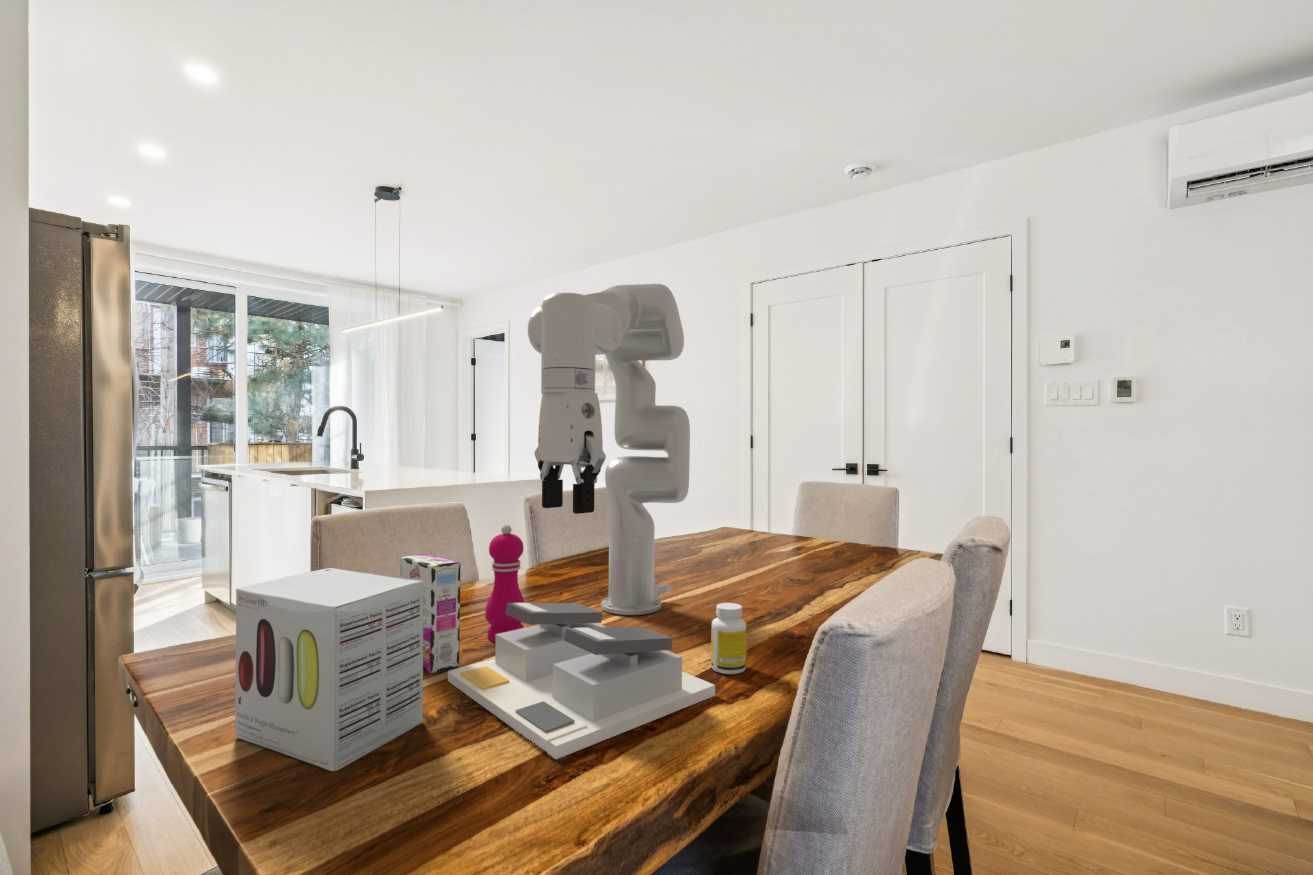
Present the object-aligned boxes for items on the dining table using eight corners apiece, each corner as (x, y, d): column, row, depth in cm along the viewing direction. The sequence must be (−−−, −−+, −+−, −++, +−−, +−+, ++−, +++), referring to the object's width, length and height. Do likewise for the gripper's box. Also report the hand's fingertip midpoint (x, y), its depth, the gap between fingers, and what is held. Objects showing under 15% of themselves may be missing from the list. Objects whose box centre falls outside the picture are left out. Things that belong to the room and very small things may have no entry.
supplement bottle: (753, 670, 96) (753, 607, 96) (725, 678, 93) (726, 612, 93) (731, 660, 101) (731, 599, 101) (704, 666, 98) (704, 604, 98)
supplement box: (229, 741, 73) (230, 588, 73) (329, 697, 85) (330, 566, 85) (333, 775, 66) (334, 605, 66) (426, 722, 78) (427, 579, 78)
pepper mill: (531, 631, 114) (532, 522, 114) (519, 644, 107) (519, 528, 107) (493, 629, 115) (494, 521, 115) (478, 642, 108) (479, 527, 108)
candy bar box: (461, 666, 97) (462, 561, 97) (431, 675, 93) (432, 566, 93) (427, 649, 105) (427, 551, 105) (397, 656, 101) (398, 555, 101)
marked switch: (575, 612, 103) (577, 602, 103) (601, 622, 97) (603, 611, 98) (505, 613, 94) (507, 601, 94) (529, 624, 89) (531, 612, 89)
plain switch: (638, 637, 91) (640, 624, 91) (671, 649, 85) (673, 636, 86) (564, 640, 82) (566, 627, 82) (595, 655, 77) (597, 640, 77)
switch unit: (592, 642, 109) (592, 599, 109) (714, 695, 87) (715, 641, 87) (446, 681, 91) (446, 630, 91) (553, 760, 69) (553, 693, 69)
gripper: (628, 381, 83) (627, 514, 84) (557, 388, 96) (556, 502, 97) (581, 378, 79) (580, 519, 79) (513, 385, 91) (513, 506, 92)
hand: (567, 509), depth 88 cm, fingers open, 7 cm apart
